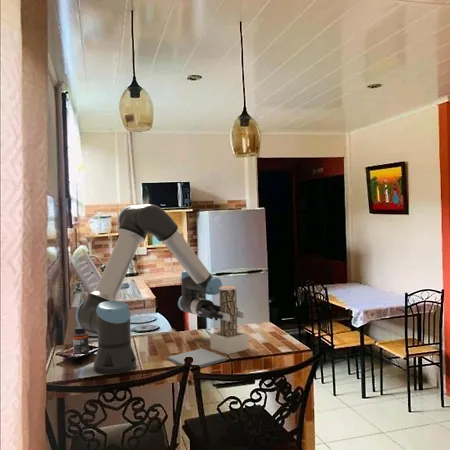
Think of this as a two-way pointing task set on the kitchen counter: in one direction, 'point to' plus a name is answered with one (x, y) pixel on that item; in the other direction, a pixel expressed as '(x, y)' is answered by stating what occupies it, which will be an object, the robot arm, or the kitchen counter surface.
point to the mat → (198, 358)
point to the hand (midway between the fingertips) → (236, 316)
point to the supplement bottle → (80, 341)
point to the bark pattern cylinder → (228, 311)
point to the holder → (229, 342)
